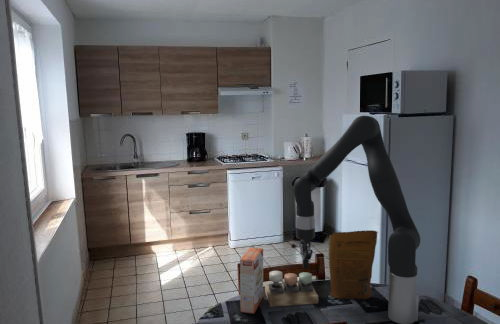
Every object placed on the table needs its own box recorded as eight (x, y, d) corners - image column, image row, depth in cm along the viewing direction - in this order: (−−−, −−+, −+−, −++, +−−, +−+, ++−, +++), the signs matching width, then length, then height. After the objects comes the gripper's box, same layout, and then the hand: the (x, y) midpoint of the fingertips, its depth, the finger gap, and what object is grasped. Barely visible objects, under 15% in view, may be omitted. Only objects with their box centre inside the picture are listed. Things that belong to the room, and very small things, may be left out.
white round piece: (281, 281, 165) (281, 270, 165) (283, 287, 160) (283, 275, 159) (268, 282, 165) (268, 271, 164) (270, 288, 160) (270, 276, 159)
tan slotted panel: (309, 288, 171) (309, 276, 171) (318, 303, 158) (318, 290, 158) (265, 291, 169) (264, 279, 168) (270, 306, 156) (270, 293, 156)
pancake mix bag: (377, 301, 159) (379, 232, 155) (328, 300, 160) (329, 232, 157) (373, 293, 166) (375, 227, 162) (326, 293, 167) (327, 227, 163)
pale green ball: (310, 283, 167) (310, 271, 166) (313, 288, 162) (313, 277, 161) (297, 283, 166) (297, 272, 166) (300, 289, 161) (300, 278, 160)
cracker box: (255, 314, 151) (254, 260, 148) (239, 312, 152) (238, 259, 149) (264, 297, 164) (263, 247, 161) (250, 295, 166) (249, 246, 163)
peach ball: (295, 284, 166) (295, 272, 165) (298, 289, 161) (298, 278, 160) (283, 284, 166) (283, 273, 165) (285, 290, 160) (285, 278, 160)
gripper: (319, 230, 154) (319, 273, 157) (310, 220, 167) (310, 261, 170) (299, 231, 153) (300, 275, 156) (292, 222, 167) (292, 262, 169)
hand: (305, 267), depth 163 cm, fingers closed
